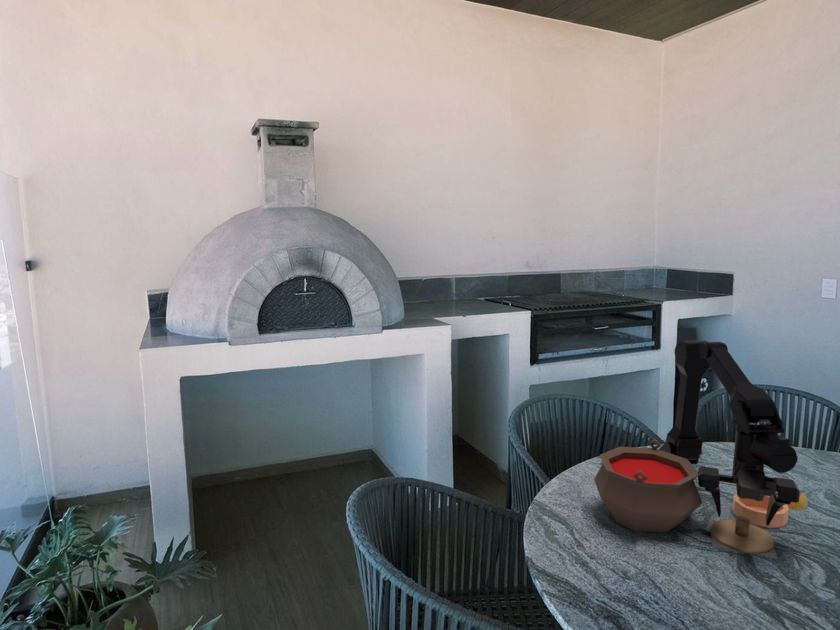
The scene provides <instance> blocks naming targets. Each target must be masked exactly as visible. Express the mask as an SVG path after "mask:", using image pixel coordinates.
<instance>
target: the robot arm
mask: <svg viewBox="0 0 840 630" xmlns="http://www.w3.org/2000/svg"><path fill="white" fill-rule="evenodd" d="M674 358H675V359H674V362H675V365H676V367H677V369H678V370H679V373H680V377H679V378H680V379H679V384H678V386H679V387H678V395H677V404H676V411H675V412H676V413H675V420H674V421H675V423H674V425H673V427H672V428H671V429H670V430H669V431H668V432H667V434H666V438H665V441H664V442H665V443H663V444H662V445H661V446H660V447H659V449H658V450H661V451H664V452H667V453H670V454H673V455H676V456H679V457H682V458H685V459H688V460H689V462H690V463H691V464H692V465H698V463H699V460H700V457H701V455H702V454H703V450H702V449H703V448H702V447H703V443H704V441H703V439H702V438H700V435H699V434H698V433H697V431H696V430H697V420H698V413H699V403H700V396H701V388H702V379H703V376H705V374H706V373H707V372H708V371H709V370H710V368H711V369H712V371H713V373H714V374H715V375H716V377H717V378H718V380H719V381H720V382H721V384H722V386H723V387H724V389H725V390H726V392H727V394H728V396H729V401H728V406H729V408H730V410H731V412H732V415H733V417H734V418H735V419H734V420H732V421H730V424H731V426H733V427H734V428H736V429H735V439H734V441H735V442H734V451H733V460H732V462H733V463H732V471H731V472H732V473H731V475H728V474H727V475H726V474H721V473H720V472H719V468H717V467H711V466H710V467H709V466H703V465H701V466H700V467H698V469H697V472H698V477H697V483H698V487H700V488H704V491H706V492H709V493H710V494H711V496H712V499H713V501H714V505H715V510H716V512H717V516H718V518H719V517H721V514H722V504H721V489H720V484H722V485H727V486H728V485H729V486H733V487H736V494H737V495H738V497H740V498H743V499H746V498H747V499H753V500H756V501H763V500H764V495H765V496H770V497H769V503H768V508H767V513H766V525H769V524H770V522H771V521H772V519H773V517H774V516H775V514H776V512H777V511H778V510H779V509H780V507H781V506H783V505H785V504H787V505H790V504H791V502H795V503H797V502H799V497H800V489H799V487H798V485H797V483H796V481H794V479H791V478H784V477H777V476H774V477H771V476H770V477H769V476H768V475H766V474H765V471H764V469H765V468H764V467H765V466H766V467H768V468H770V469H771V470H772V471H775V472H777V473H779V474H784V473H788V472H790V471H791V470H793V469H794V468H795V466H796V465H797V463H798V458H799V457H798V455H797V451H796V450H795V448H794V447H792V446H791V445H790V439H789V438H787V437H786V436H785V437H784V436H781V435H780V434H785V429H784V426H783V425H784V423H783V421H782V419H781V417H780V414H779V412H778V411H779V410H778V408H777V406H776V405H777V404H775V401H774V399H773V398H772V397H771V396H770V395H769V394H768V393H767V392H766V391H765V390H764V389H762V388H760V387H758V386H756V385H754V384H753V383H751V382H750V380H749V379H748V377H747V375H746V374H745V373H744V371H743V370H742V369H741V367H740V366H739V365H738V363H737V362H736V360H735V359H734V358H733V356H732V355H731V354H730V353H729V351H728V346H727V344H726V343H725V342H722V341H707V340H681V341H679V343H676V345H675V348H674ZM756 423H757V424H756ZM758 423H759V424H758ZM760 423H762V424H760ZM763 423H765V424H763ZM767 423H768V424H767ZM769 423H770V424H769Z"/></svg>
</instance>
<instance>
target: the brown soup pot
mask: <svg viewBox="0 0 840 630" xmlns="http://www.w3.org/2000/svg"><path fill="white" fill-rule="evenodd" d="M654 443H655V444H656V445H654ZM647 444H648V445H649V446H650V447H635V446H617V447H616V448H613V449H610V450H609V451H606V452H604V453H601V454H599V456H600V460H601V462H602V465H601V466H600V468H599V470H598V471H597V473H596V475H595V477H594V478H593V480H594V483H595V484H594V485H595V486H596V489H597V491H598V494H599V497H600V498H601V501H602V502H603V503H604V505H605V506H606V507H607V509H608V511H609V512H610V514H611V515H612V517H613V518H614V520H615V522H616V523H617V524H619V525H621V526H623V527H625V528H628V529H629V530H631V531H634V532H636V533H639V532H652V533H653V532H654V533H668V532H669V531H671V530H672V529H674V528H676V527H678V526H679V525H681V523H682V522H684V521H685V520H686V518H688V517H689V516H690V515H691V514H692V513H694V511H696V510H697V509H699V507H700V506H701V505H702V504H703V500H702V498H701V495H700V493H699V490H698V488H697V485H696V483H695V481H694V480H696V479H697V478H698V469H696V467H694V464H691V463H690V462H689V460H688V459H685V458H682V457H679V456H676V455H673V454H670V453H667V452H664V451H661V450H659V449H660V448H661V447H662V445H661V443H660V442H659V441H658V440H657V439H656V438H654V439H652V440H651V441H649V442H648V443H647ZM658 448H659V449H658Z"/></svg>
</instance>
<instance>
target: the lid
mask: <svg viewBox="0 0 840 630" xmlns="http://www.w3.org/2000/svg"><path fill="white" fill-rule="evenodd" d="M735 518H736V519H721V520H715V521H716V522H714V523H713V524H712V526H711V530H710V535H711V534H712V536H713V537H714V538H715V539H716V540H717V541H718V542H720V543H721V544H723V545H725V546H727V547H729V548H731V549H734V550H737V551H736V552H739V551H741V552H740V553H744V552H746V553H745V554H749V553H755V554H759V553H766V552H769V551H771V550H772V548H773V546H774V544H775V543H774V542H775V541H774V537H773V536H772V535H771V533H770V532H769V533H770V534H769V533H768V532H766V531H765V530H766V529H764V530H763V528H761V527H760V526H757V525H754V524H751V523H750V519H748V518H747V517H744V516H736V517H735ZM734 550H733V551H734Z"/></svg>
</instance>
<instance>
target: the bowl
mask: <svg viewBox="0 0 840 630" xmlns="http://www.w3.org/2000/svg"><path fill="white" fill-rule="evenodd" d="M769 497H770V496H765V495H764V500H763V501H756V500H753V499H747V498H746V499H743V498H740V497H738V495H737V493H735V494H733V497H732V498H733V499H732V500H733V501H732V512H733V515H735V516H736V517H737V516H744V517H747V518H748V519H750V524H752V525H755V526H757V527H764V528H769V529H772V528H783V527H784V526H785V525H787V524H789V523H788V522H789V513H790V509H789V508H788V506H787V504H785V505H783V506H781V507H780V509H779V510H778V511H777V512H776V514H775V516H774V517H773V519H772V521H771V522H770V524H769V525H766V513H767V508H768V503H769Z"/></svg>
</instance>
